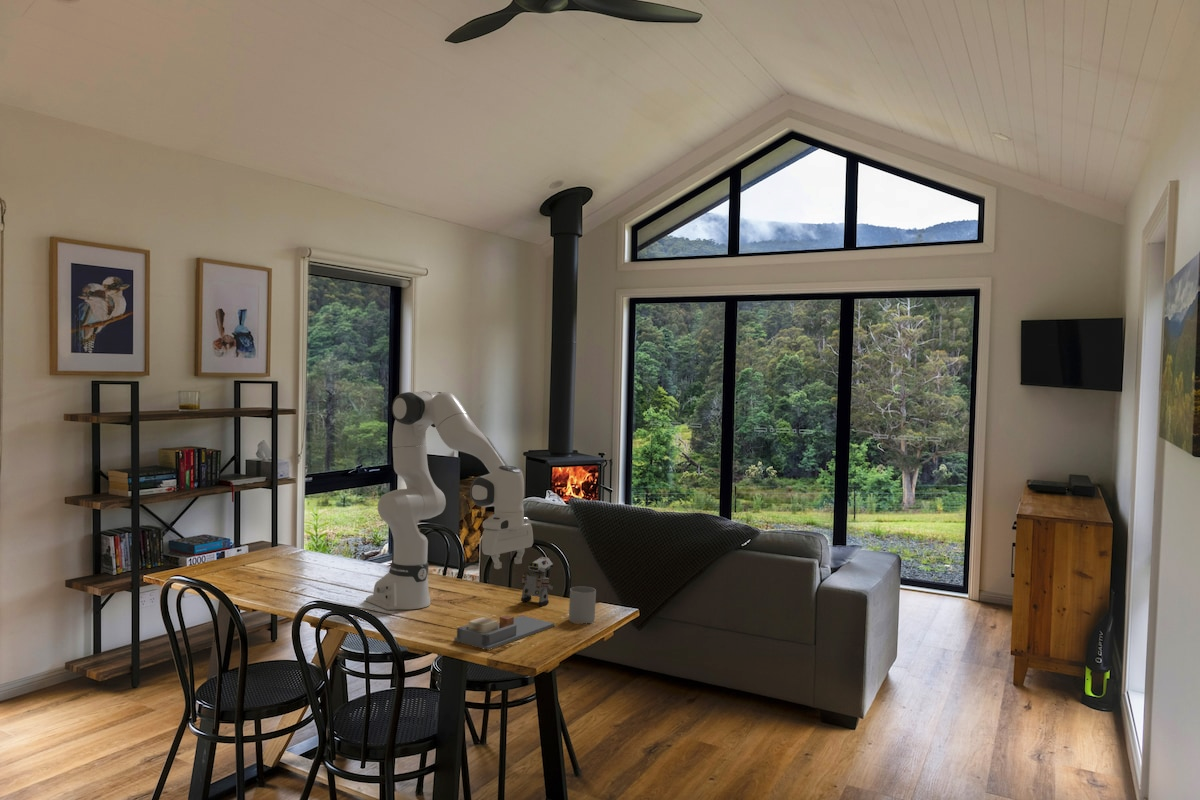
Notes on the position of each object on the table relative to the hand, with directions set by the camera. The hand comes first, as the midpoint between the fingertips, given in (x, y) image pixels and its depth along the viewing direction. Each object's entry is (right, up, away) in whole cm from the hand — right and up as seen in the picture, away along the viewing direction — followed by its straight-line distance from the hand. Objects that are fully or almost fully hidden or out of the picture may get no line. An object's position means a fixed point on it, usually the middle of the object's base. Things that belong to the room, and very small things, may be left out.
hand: (508, 566), depth 247 cm
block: (-4, -19, -5) cm, 20 cm away
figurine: (+6, -20, +37) cm, 43 cm away
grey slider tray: (-1, -20, 0) cm, 20 cm away
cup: (+22, -21, +17) cm, 35 cm away
